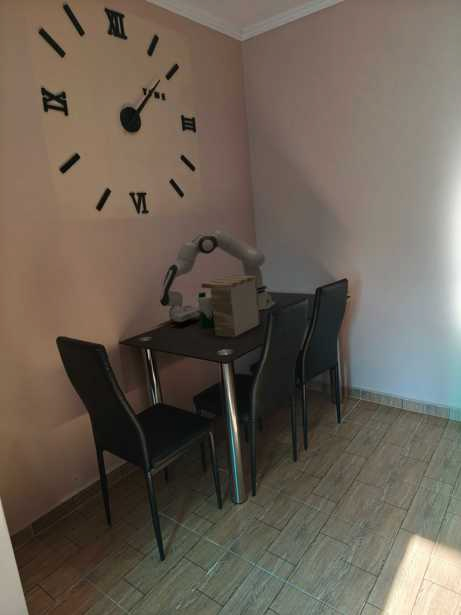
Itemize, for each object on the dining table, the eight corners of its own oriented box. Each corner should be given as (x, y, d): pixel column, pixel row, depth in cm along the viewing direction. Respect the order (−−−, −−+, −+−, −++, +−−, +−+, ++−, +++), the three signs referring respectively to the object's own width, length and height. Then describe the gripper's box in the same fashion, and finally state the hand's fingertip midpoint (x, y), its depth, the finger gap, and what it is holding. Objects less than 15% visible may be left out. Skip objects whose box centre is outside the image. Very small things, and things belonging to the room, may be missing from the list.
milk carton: (203, 324, 243) (200, 291, 239) (218, 323, 241) (215, 290, 237) (200, 328, 235) (195, 294, 231) (215, 328, 233) (211, 294, 229)
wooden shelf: (234, 321, 243) (230, 275, 237) (260, 323, 232) (256, 275, 226) (207, 334, 223) (201, 284, 216) (233, 337, 212) (228, 285, 206)
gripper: (168, 313, 241) (185, 314, 233) (191, 304, 257) (208, 306, 249) (170, 323, 243) (187, 325, 234) (192, 314, 258) (209, 316, 250)
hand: (198, 315), depth 242 cm, fingers closed
